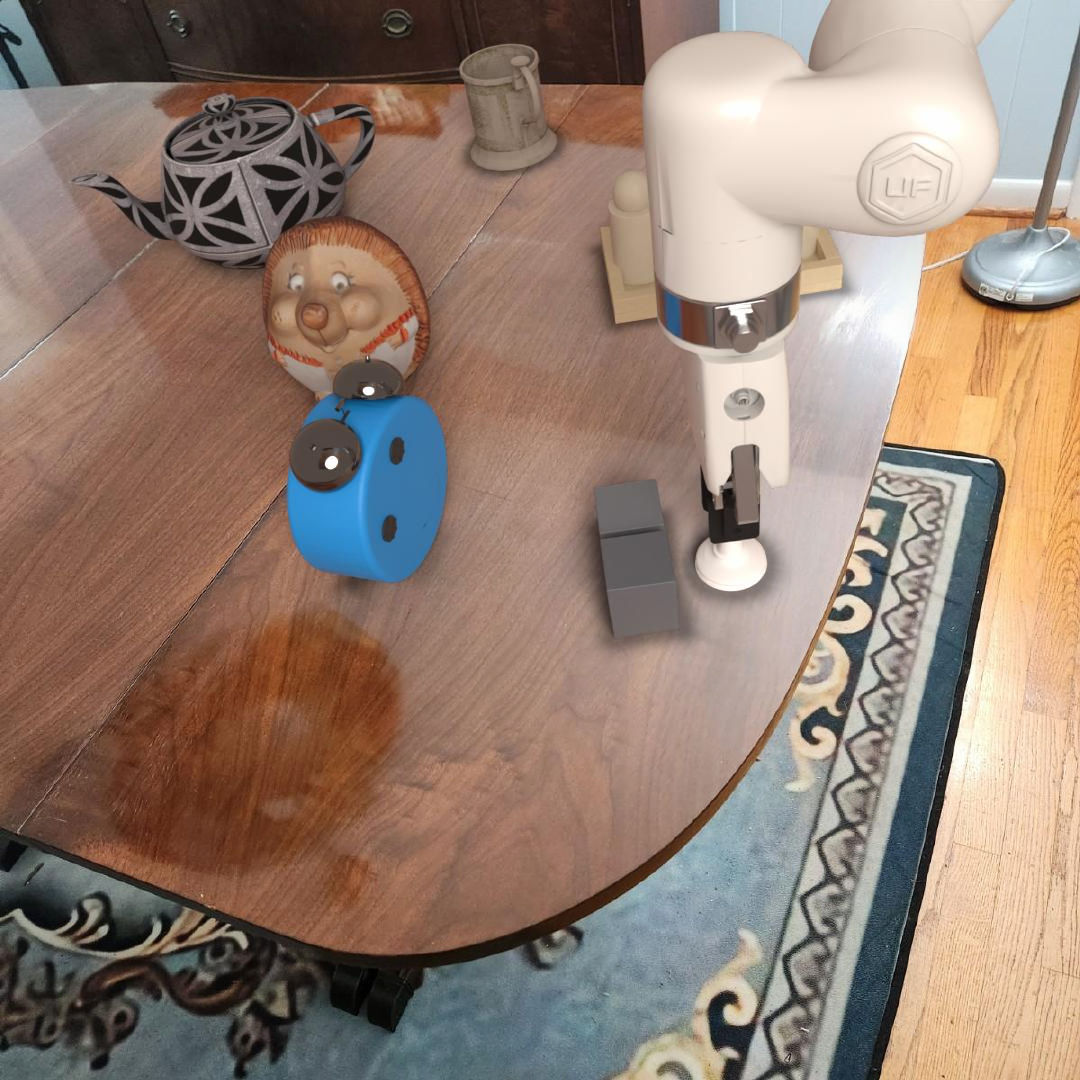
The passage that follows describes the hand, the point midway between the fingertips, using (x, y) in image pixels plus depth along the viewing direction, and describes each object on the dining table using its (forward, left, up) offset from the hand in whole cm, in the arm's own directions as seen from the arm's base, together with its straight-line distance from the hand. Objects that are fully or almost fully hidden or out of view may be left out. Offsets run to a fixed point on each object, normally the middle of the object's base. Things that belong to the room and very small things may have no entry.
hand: (730, 520), depth 67 cm
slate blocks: (+6, 0, -5) cm, 8 cm away
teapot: (+41, -54, -5) cm, 68 cm away
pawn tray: (-5, -35, -5) cm, 36 cm away
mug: (+12, -62, -5) cm, 63 cm away
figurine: (+28, -27, -5) cm, 39 cm away
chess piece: (0, 0, -5) cm, 5 cm away
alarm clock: (+24, -6, -5) cm, 25 cm away
